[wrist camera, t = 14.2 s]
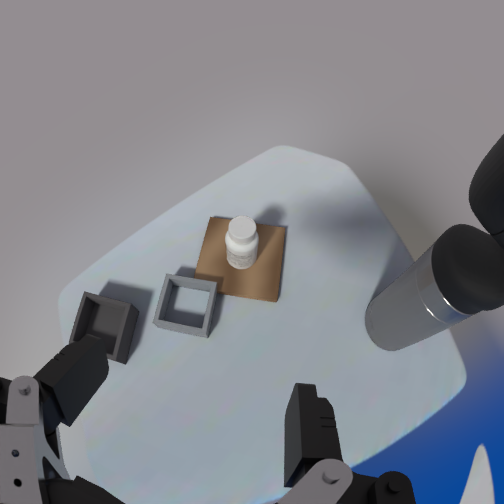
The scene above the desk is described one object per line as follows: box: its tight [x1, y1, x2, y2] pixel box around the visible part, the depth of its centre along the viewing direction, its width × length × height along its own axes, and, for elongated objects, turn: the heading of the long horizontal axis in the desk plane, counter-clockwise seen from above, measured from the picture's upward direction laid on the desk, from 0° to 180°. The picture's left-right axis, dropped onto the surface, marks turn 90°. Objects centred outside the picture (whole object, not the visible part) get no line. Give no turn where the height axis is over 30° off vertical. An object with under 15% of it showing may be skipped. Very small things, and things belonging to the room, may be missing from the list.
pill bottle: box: [225, 216, 259, 269], centre depth 38 cm, size 4×4×8 cm
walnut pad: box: [194, 217, 285, 302], centre depth 41 cm, size 12×12×1 cm
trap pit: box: [69, 291, 139, 364], centre depth 34 cm, size 8×8×4 cm
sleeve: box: [153, 274, 218, 338], centre depth 37 cm, size 7×7×2 cm
